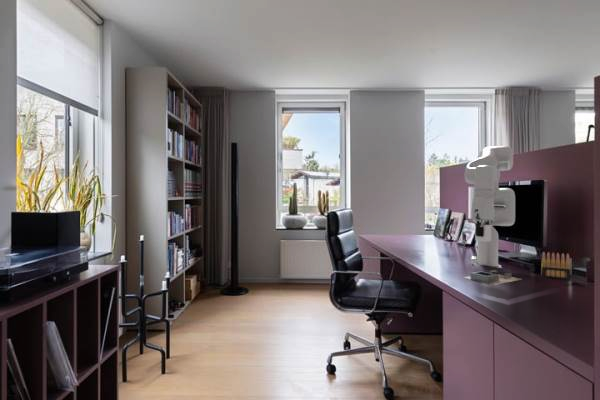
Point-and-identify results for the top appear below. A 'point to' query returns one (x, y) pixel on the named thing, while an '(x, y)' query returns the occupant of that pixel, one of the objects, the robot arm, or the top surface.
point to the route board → (501, 278)
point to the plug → (486, 234)
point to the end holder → (484, 276)
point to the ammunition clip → (557, 271)
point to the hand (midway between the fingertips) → (483, 235)
